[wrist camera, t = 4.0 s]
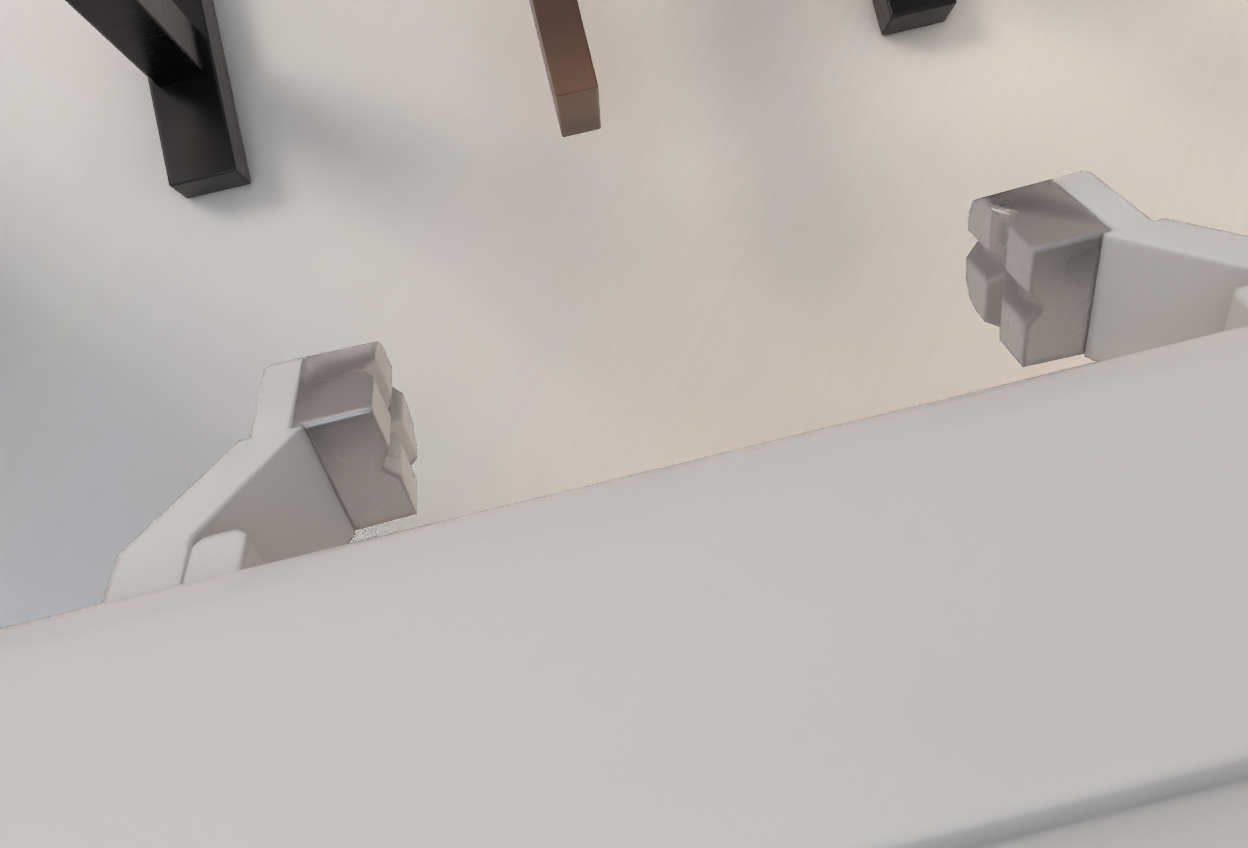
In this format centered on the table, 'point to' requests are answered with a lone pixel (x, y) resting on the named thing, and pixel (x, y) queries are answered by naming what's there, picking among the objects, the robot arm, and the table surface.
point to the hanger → (568, 64)
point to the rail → (201, 93)
